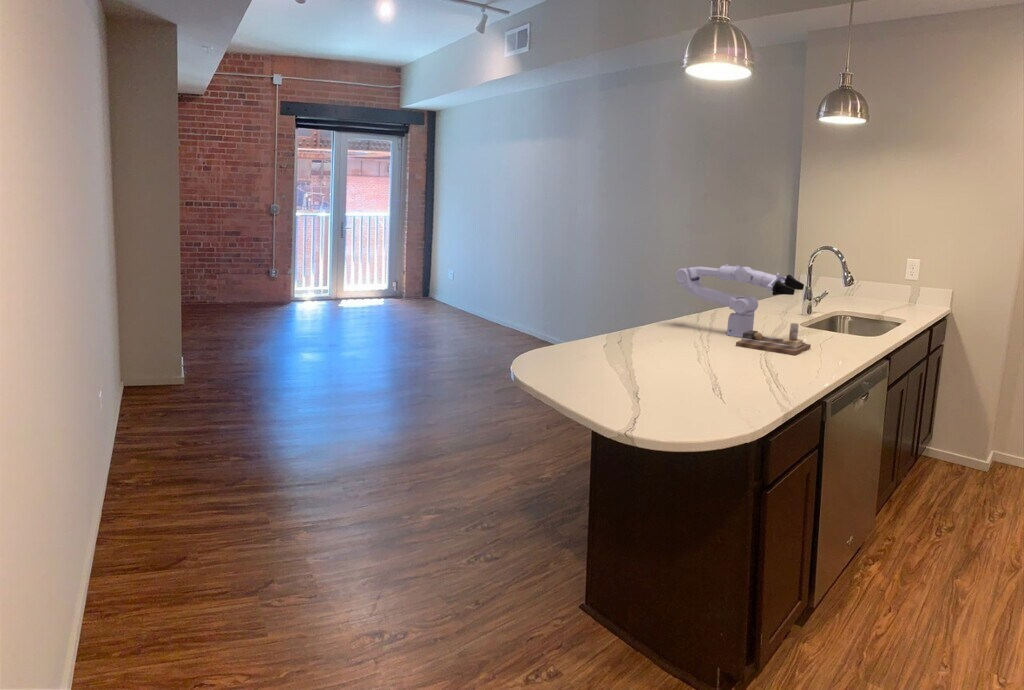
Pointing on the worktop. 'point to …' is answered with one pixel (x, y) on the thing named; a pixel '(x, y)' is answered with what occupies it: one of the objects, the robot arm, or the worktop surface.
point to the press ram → (793, 336)
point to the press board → (769, 344)
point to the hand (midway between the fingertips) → (798, 289)
